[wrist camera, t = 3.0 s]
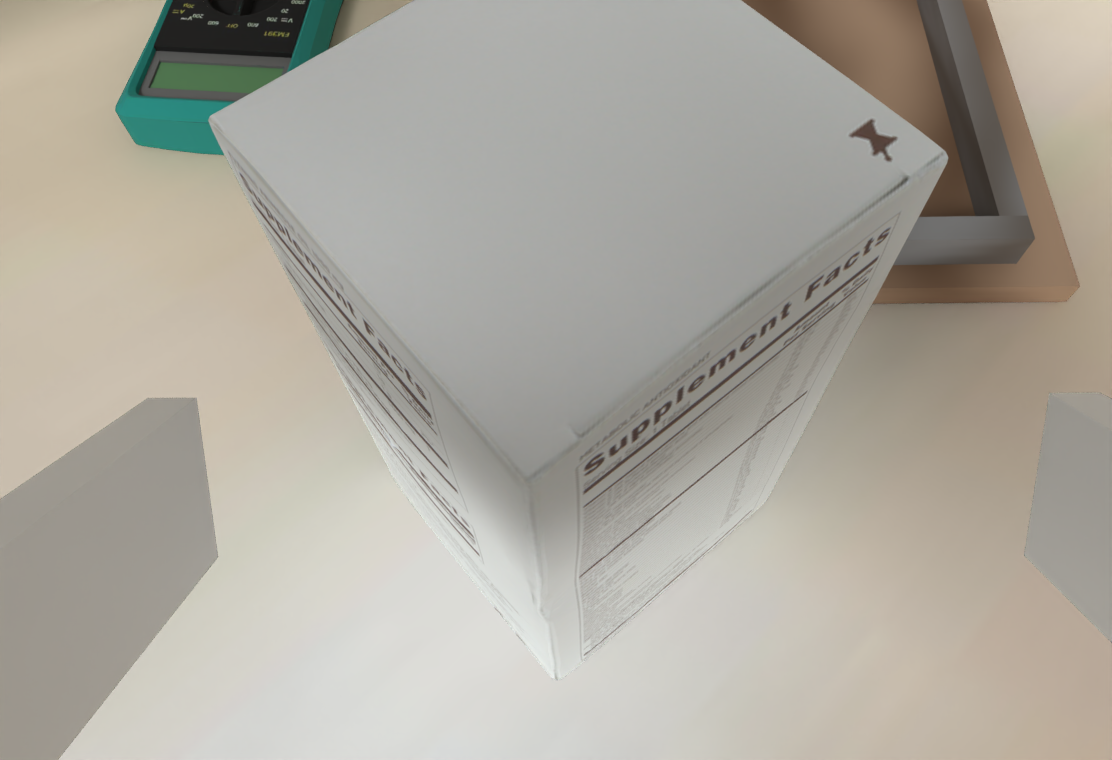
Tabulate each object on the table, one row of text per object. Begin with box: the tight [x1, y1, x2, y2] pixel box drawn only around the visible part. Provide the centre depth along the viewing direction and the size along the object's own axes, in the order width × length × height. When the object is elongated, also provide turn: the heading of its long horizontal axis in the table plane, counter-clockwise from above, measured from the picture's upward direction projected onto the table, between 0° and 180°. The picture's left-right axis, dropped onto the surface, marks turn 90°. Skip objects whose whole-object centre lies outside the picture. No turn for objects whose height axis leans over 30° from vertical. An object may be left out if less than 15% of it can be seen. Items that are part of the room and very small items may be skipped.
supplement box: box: [208, 0, 948, 680], centre depth 22 cm, size 10×9×17 cm
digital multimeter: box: [115, 0, 343, 155], centre depth 40 cm, size 7×15×3 cm, turn 175°
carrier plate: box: [742, 0, 1080, 304], centre depth 36 cm, size 20×18×2 cm
